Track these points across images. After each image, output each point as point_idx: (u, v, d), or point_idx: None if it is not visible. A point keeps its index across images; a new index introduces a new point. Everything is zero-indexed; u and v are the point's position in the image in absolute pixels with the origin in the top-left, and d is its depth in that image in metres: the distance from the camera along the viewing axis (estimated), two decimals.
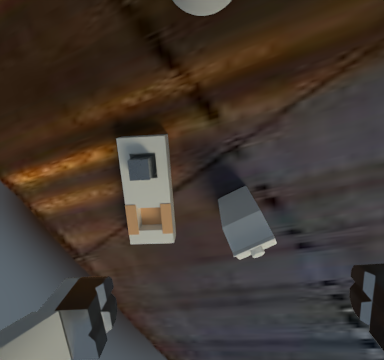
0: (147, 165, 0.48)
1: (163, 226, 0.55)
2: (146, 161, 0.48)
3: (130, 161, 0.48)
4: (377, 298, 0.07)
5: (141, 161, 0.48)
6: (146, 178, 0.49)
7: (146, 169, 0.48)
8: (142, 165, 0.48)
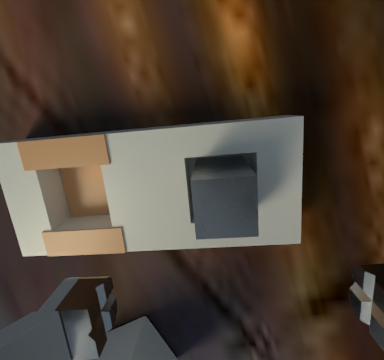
0: (240, 234, 0.16)
1: (61, 234, 0.21)
2: (253, 232, 0.16)
3: (254, 185, 0.15)
4: (377, 298, 0.07)
5: (253, 218, 0.16)
6: (199, 230, 0.16)
7: (228, 231, 0.16)
8: (240, 220, 0.16)
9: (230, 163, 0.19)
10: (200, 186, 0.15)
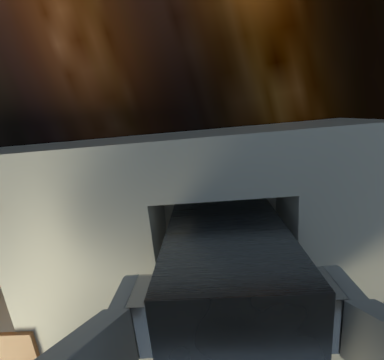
0: None
1: None
2: None
3: (324, 317, 0.05)
4: None
5: None
6: None
7: None
8: None
9: (243, 217, 0.09)
10: (172, 316, 0.05)
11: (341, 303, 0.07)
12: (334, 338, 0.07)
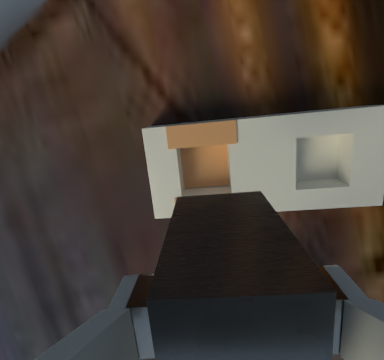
0: None
1: None
2: None
3: (325, 316, 0.05)
4: None
5: None
6: None
7: None
8: None
9: (244, 218, 0.09)
10: (174, 316, 0.05)
11: (341, 303, 0.07)
12: (334, 338, 0.07)
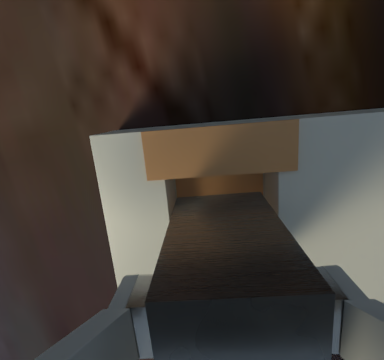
0: None
1: None
2: None
3: (324, 317, 0.05)
4: None
5: None
6: None
7: None
8: None
9: (243, 218, 0.09)
10: (173, 317, 0.05)
11: (341, 303, 0.07)
12: (334, 338, 0.07)
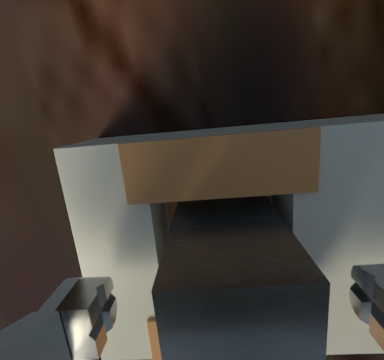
0: None
1: None
2: None
3: (319, 306, 0.06)
4: (377, 298, 0.07)
5: None
6: None
7: None
8: None
9: (244, 215, 0.09)
10: (178, 305, 0.06)
11: None
12: None
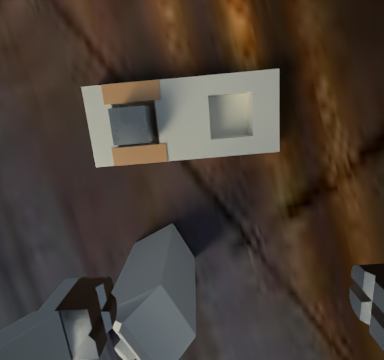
0: (138, 141, 0.28)
1: (125, 149, 0.32)
2: (145, 140, 0.28)
3: (143, 111, 0.27)
4: (377, 298, 0.07)
5: (144, 131, 0.28)
6: (115, 139, 0.28)
7: (131, 139, 0.28)
8: (138, 132, 0.28)
9: None
10: (113, 112, 0.27)
11: None
12: None
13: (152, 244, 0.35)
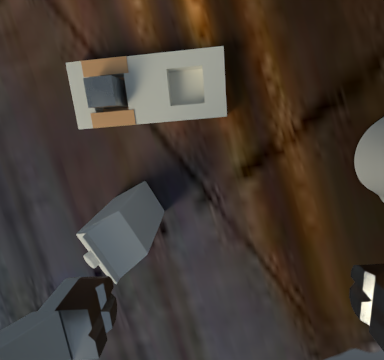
0: (107, 104, 0.35)
1: (101, 114, 0.40)
2: (113, 103, 0.35)
3: (110, 79, 0.35)
4: (377, 298, 0.07)
5: (112, 96, 0.35)
6: (89, 102, 0.35)
7: (102, 103, 0.35)
8: (106, 97, 0.35)
9: None
10: (87, 80, 0.35)
11: None
12: None
13: (125, 194, 0.43)
